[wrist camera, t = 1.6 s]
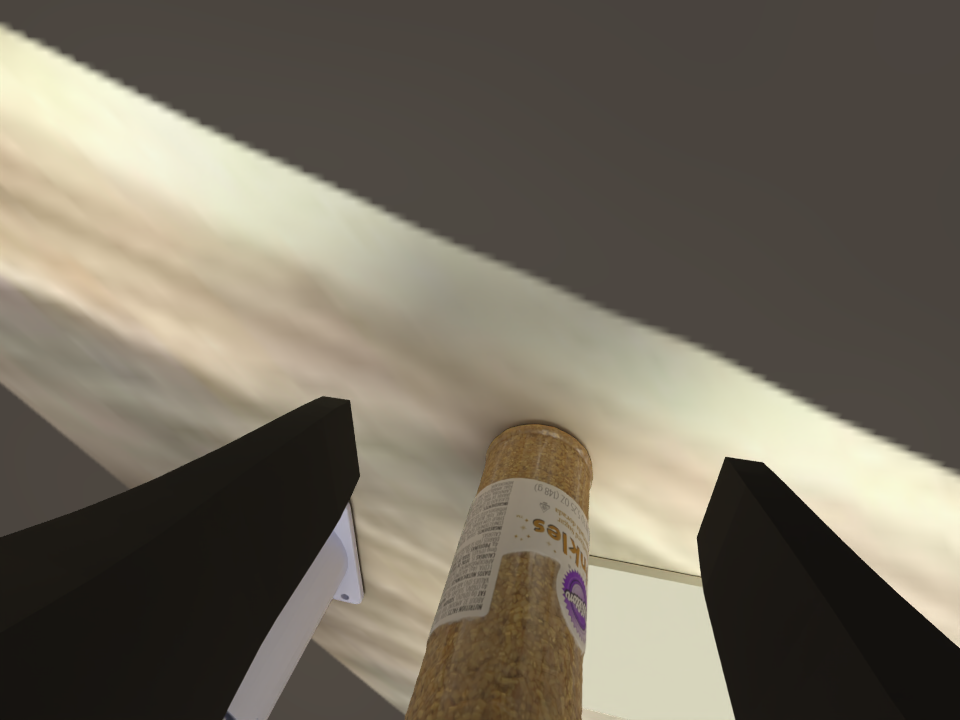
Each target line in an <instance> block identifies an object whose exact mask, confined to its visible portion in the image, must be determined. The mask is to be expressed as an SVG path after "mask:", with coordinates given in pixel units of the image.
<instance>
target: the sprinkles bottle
mask: <svg viewBox="0 0 960 720" xmlns="http://www.w3.org/2000/svg"><path fill="white" fill-rule="evenodd" d="M592 480H593V472H592V464H591V460H590V457H589V455H588V454H587V451H586V449H585V448H584V447H583V446H582V445H581V444H580V443H579V442H578V440H576V439H575V438H573V437H572V436H571V435H569V434H568V433H566V432H563V431H561V430H559V429H558V428H555V427H552V426H545V425H541V424H527V425H520V426H517V427H512V428H509V429H507V430H505V431H504V432H503V433H502V434H500V435H499V436H497V437H496V438H495V439H494V441H493V442H492V443H491V444H490V446H489V449H488V450H487V453H486V464H485V469H484V472H483V475H482V478H481V482H480V485H479V488H478V492H477V494H476V496H475V499H474V500H473V502H472V505H471V507H470V510H469V513H468V516H467V520H466V522H465V525H464V528H463V531H462V534H461V537H460V540H459V544H458V547H457V550H456V553H455V556H454V559H453V562H452V565H451V569H450V572H449V575H448V578H447V581H446V584H445V588H444V591H443V594H442V597H441V600H440V603H439V606H438V609H437V612H436V615H435V618H434V622H433V625H432V628H431V631H430V634H429V637H428V641H427V648H426V653H425V656H424V659H423V662H422V666H421V669H420V672H419V675H418V678H417V681H416V685H415V688H414V692H413V695H412V698H411V700H410V704H409V707H408V710H407V713H406V715H405V720H582V718H581V714H582V683H583V677H582V676H583V675H582V672H583V667H582V664H583V657H584V654H585V650H586V629H587V599H588V567H589V541H590V531H589V525H588V517H589V516H588V511H589V490H590V488H591V485H592Z"/></svg>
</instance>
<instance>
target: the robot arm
mask: <svg viewBox="0 0 960 720" xmlns="http://www.w3.org/2000/svg"><path fill="white" fill-rule="evenodd" d="M359 477H360V472H359V465H358V457H357V449H356V442H355V434H354V427H353V419H352V412H351V404H350V400H345V399H338V398H331V397H325V396H322V397H320V398H318V399H315V400H313V401H311V402H309V403H307V404H305V405H303V406H301V407H299V408H297V409H295V410H293V411H291V412H289V413H287V414H285V415H283V416H281V417H279V418H277V419H275V420H273V421H271V422H270V423H268V424H266V425H264V426H262V427H260V428H258V429H256V430H254V431H252V432H250V433H248V434H246V435H244V436H243V437H241V438H239V439H237V440H235V441H233V442H231V443H229V444H227V445H225V446H223V447H221V448H219V449H217V450H215V451H213V452H211V453H209V454H207V455H204V456H202V457H200V458H198V459H196V460H194V461H192V462H190V463H188V464H186V465H183V466H181V467H179V468H177V469H175V470H173V471H171V472H169V473H167V474H165V475H162V476H160V477H158V478H156V479H154V480H151V481H149V482H147V483H144V484H142V485H140V486H137V487H135V488H133V489H130V490H128V491H126V492H123V493H121V494H118V495H116V496H113V497H111V498H108V499H106V500H103V501H101V502H98V503H96V504H93V505H91V506H88V507H86V508H83V509H80V510H78V511H75V512H72V513H70V514H67V515H64V516H61V517H58V518H55V519H53V520H50V521H47V522H44V523H41V524H38V525H35V526H33V527H29V528H26V529H24V530H21V531H18V532H15V533H12V534H9V535H6V536H3V537H0V720H267V718H268V716H269V715H270V713H271V711H272V709H273V707H274V705H275V703H276V702H277V700H278V698H279V696H280V694H281V692H282V691H283V689H284V687H285V685H286V683H287V681H288V679H289V678H290V676H291V674H292V672H293V670H294V668H295V667H296V665H297V663H298V661H299V659H300V657H301V656H302V654H303V652H304V650H305V648H306V646H307V644H308V643H309V641H310V639H311V637H312V635H313V633H314V632H315V630H316V628H317V626H318V624H319V622H320V620H321V619H322V617H323V615H324V613H325V611H326V609H327V608H328V606H329V604H330V602H331V600H332V599H336V600H340V601H344V602H349V603H353V604H359V603H361V602H362V599H363V597H364V592H363V586H362V579H361V573H360V566H359V559H358V553H357V546H356V540H355V533H354V527H353V520H352V513H351V507H350V504H349V500H350V497H351V495H352V493H353V491H354V489H355V486H356V484H357V482H358V480H359ZM697 544H698V553H699V562H700V571H701V578H702V586H703V593H704V597H705V601H706V606H707V610H708V614H709V618H710V622H711V626H712V630H713V634H714V638H715V642H716V646H717V650H718V654H719V658H720V662H721V666H722V670H723V674H724V678H725V682H726V686H727V690H728V694H729V698H730V702H731V705H732V709H733V713H734V717H735V720H960V648H959V647H958V646H957V645H955V644H954V643H953V642H952V641H951V640H950V639H949V638H947V637H946V636H945V635H944V634H943V633H942V632H941V631H940V630H938V629H937V628H936V627H935V626H934V625H933V624H932V623H931V622H929V621H928V620H927V619H926V618H925V617H924V616H923V615H922V614H920V613H919V612H918V611H917V610H916V609H915V608H914V607H913V606H911V605H910V604H909V603H908V602H907V601H906V600H905V599H904V598H902V597H901V596H900V595H899V594H898V593H897V592H896V591H895V590H894V589H893V588H892V587H891V586H890V585H888V584H887V583H886V582H885V581H884V580H883V579H882V578H881V577H880V576H879V575H878V574H877V573H876V572H875V571H873V570H872V569H871V568H870V567H869V566H868V565H867V564H866V563H865V562H864V561H863V560H862V559H861V558H860V557H859V556H858V555H857V554H856V553H855V552H854V551H853V550H852V549H851V548H849V547H848V546H847V545H846V544H845V543H844V542H843V541H842V540H841V539H840V538H839V537H838V536H837V535H836V534H835V533H834V532H833V531H832V530H831V529H830V528H829V527H828V526H827V525H826V524H825V523H824V522H823V521H822V520H821V519H820V518H819V517H818V516H817V515H816V514H815V513H814V512H813V511H812V510H811V509H810V508H809V507H808V506H807V505H806V504H805V503H804V502H803V501H802V500H801V499H800V498H799V497H798V496H797V495H796V494H795V493H794V492H793V491H792V490H791V489H790V488H789V487H788V486H787V485H786V484H785V483H784V482H783V481H782V480H781V479H780V478H779V477H778V476H777V475H776V474H775V473H774V472H773V471H772V470H770V469H769V468H768V467H767V466H766V465H765V464H764V463H763V462H756V461H750V460H743V459H736V458H730V457H725V459H724V462H723V465H722V468H721V471H720V473H719V476H718V479H717V482H716V485H715V488H714V490H713V493H712V496H711V499H710V502H709V504H708V507H707V510H706V513H705V516H704V519H703V521H702V524H701V527H700V530H699V533H698V535H697Z"/></svg>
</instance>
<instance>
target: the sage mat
mask: <svg viewBox="0 0 960 720" xmlns="http://www.w3.org/2000/svg"><path fill="white" fill-rule="evenodd" d="M582 667H583V672H582V675H583V676H582V677H583V683H582V708H583V709H587V710H590V711H594V712H598V713H602V714H606V715H610V716H614V717H618V718H622V719H626V720H735V717H734V713H733V709H732V705H731V702H730V698H729V694H728V690H727V686H726V682H725V678H724V674H723V670H722V666H721V662H720V658H719V654H718V650H717V646H716V642H715V638H714V634H713V630H712V626H711V622H710V618H709V614H708V610H707V606H706V601H705V597H704V593H703V586H702V578H701V577H696V576H691V575H686V574H680V573H675V572H670V571H665V570H660V569H655V568H650V567H644V566H639V565H634V564H629V563H624V562H619V561H614V560H609V559H603V558H598V557H593V556H589V567H588V599H587V629H586V650H585V654H584V657H583V664H582Z"/></svg>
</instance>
